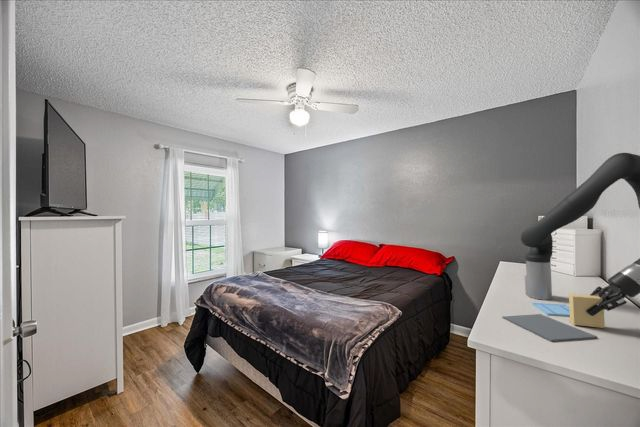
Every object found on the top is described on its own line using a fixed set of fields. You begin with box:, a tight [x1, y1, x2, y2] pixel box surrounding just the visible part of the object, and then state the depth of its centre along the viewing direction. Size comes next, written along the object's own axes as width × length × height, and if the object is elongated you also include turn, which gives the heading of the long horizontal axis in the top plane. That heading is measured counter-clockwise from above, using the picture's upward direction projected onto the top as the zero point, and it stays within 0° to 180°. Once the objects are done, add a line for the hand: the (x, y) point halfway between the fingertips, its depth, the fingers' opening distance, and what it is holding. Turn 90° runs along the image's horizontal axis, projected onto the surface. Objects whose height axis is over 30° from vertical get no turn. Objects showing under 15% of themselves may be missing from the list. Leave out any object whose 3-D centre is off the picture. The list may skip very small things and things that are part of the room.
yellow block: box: [568, 293, 606, 329], centre depth 94 cm, size 8×4×10 cm, turn 65°
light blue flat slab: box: [531, 302, 570, 318], centre depth 110 cm, size 14×12×1 cm
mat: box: [501, 313, 598, 342], centre depth 94 cm, size 20×16×1 cm
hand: (586, 311), depth 94 cm, fingers closed on yellow block, 3 cm apart
